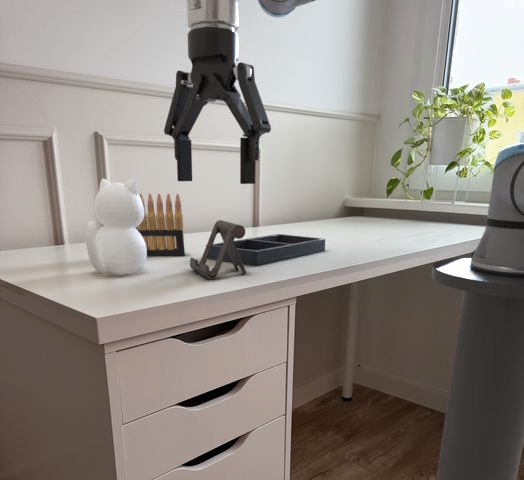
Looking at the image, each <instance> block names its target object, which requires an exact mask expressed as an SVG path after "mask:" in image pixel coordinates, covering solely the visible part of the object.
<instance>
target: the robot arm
mask: <svg viewBox="0 0 524 480" xmlns="http://www.w3.org/2000/svg"><path fill="white" fill-rule="evenodd" d="M316 1H317V0H257V2H258V4H259V6H260V8H261V10H262V11H263V12H264V13H265V14H266V15H268V16H270V17H272V18H284V17H286V16H288V15H289V14H291V13H292V12H293V11H295V9H296V8H298V7H301V6H303V5H307V4H310V3H313V2H316ZM239 4H240V3H239V0H186V16H187V17H186V18H187V27H188V28H189V29H190V30H189V31H188V33H187V57H188V60H190V62H191V70H190V72H188V71H184V70H177V71H176V74H175V88H174V91H173V95H172V98H171V103H170V106H169V110H168V115H167V118H166V121H165V125H164V128H163V133H164V134H165V135H166V136H169V137H171V138H172V139H173V146H174V147H173V149H174V159H175V160H176V170H177V172H176V175H177V182H193V156H192V153H193V152H192V151H193V149H192V139H191V138H190V136H189V135H190V133H191V131H192V129H193V128H194V125H195V124H196V122H197V120H198V118H199V116H200V114H201V112H202V111H203V108H204V107H205V106H207V105H208V104H209V102H210V103H215V102H217V101H219V102H224V103H225V105H226V106H227V107H228V110H229V111H230V112H231V115H232V116H233V118H234V119H235V121H236V122H237V124H238V126H239V127H240V129H241V130H242V132H243V134H242V137H240V139H239V140H240V142H239V143H240V144H239V145H240V146H239V147H240V149H239V150H240V151H239V152H240V154H239V155H240V156H239V157H240V158H239V159H240V160H239V167H240V168H239V169H240V170H239V171H240V172H239V173H240V175H239V183H240V184H241V185H256V161H257V162H258V161H259V158H260V139H261V137H262V136H263V135H265V134H269V133H270V132H271V130H272V125H271V123H270V120H269V117H268V114H267V112H266V109H265V105H264V104H263V101H262V97H261V94H260V92H259V90H258V86H257V83H256V80H255V79H256V78H255V68H254V66H253V64H248V63H245V62H241V61H240V62H238V60H239V45H240V44H239V39H240V38H239V34H238V33H237V32H236V31H238V30H239V28H240V17H239V15H240V12H239V10H240V9H239V8H240V7H239ZM237 62H238V64H236V63H237ZM236 82H237V83H238V86H239V89H240V92H241V93H240V92H239V90H238V89H237V86H236V85H235V84H236ZM241 95H242V96H241ZM241 97H243V98H241ZM242 99H243V100H244V102H243V100H242ZM492 170H493V175H492V183H491V190H490V194H489V195H490V197H489V202H488V210H487V217H486V223H485V229H484V232H483V234H482V236H481V238H480V240H479V242H478V244H477V246H476V248H475V249H474V250H473V251H472V253H471V254H470V257H471V258H472V259H471V264H470V268H471V269H472V270H475V271H478V272H481V273H486V274H491V275H498V276H506V277H519V278H524V143H517V144H516V143H515V144H512V145H508V146H506V147H503V148H501V150H499V152H498V153H497V156H496V160H495V163H494V166H493V169H492Z"/></svg>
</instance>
